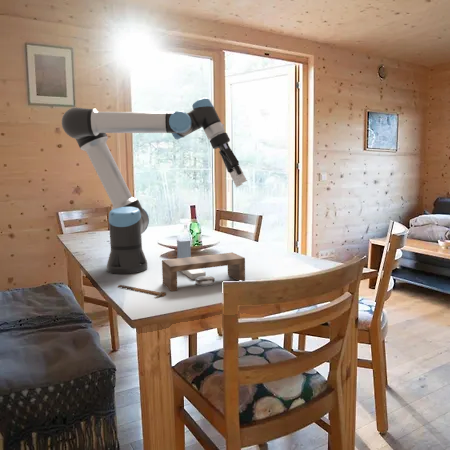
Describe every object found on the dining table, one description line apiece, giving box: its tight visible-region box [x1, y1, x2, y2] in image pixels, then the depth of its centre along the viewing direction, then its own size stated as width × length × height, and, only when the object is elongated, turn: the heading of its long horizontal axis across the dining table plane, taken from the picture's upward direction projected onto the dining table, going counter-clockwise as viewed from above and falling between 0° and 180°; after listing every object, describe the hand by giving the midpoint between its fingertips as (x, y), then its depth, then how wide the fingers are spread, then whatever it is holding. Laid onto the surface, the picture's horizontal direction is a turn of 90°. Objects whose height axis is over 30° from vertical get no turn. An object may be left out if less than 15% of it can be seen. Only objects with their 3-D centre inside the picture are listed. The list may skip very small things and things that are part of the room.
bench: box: [161, 252, 246, 292], centre depth 142 cm, size 26×10×8 cm, turn 114°
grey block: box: [176, 238, 207, 280], centre depth 154 cm, size 5×18×11 cm, turn 24°
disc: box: [195, 275, 216, 287], centre depth 141 cm, size 6×6×2 cm
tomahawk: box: [117, 284, 167, 299], centre depth 132 cm, size 20×7×1 cm, turn 57°
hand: (241, 184), depth 167 cm, fingers open, 13 cm apart
